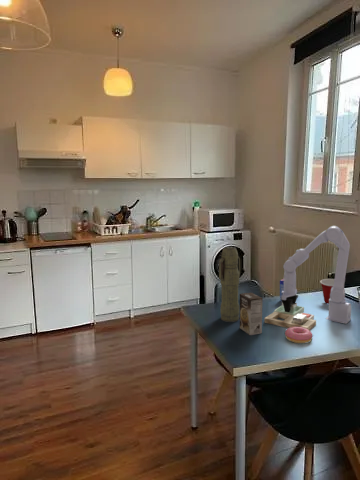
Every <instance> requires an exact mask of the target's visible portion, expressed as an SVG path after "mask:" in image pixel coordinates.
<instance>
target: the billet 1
mask: <svg viewBox="0 0 360 480" xmlns="http://www.w3.org/2000/svg"><path fill="white" fill-rule="evenodd" d="M281 306H282V312H285V310H284V306H283V303H282V302H281ZM297 306H298V303H297V302H295V303H294V302H292V303H291V307H290V312H286V313H291V314H294V313H295V312H297Z"/></svg>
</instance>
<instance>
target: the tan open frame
mask: <svg viewBox="0 0 360 480" xmlns="http://www.w3.org/2000/svg"><path fill="white" fill-rule="evenodd" d="M293 317H294V316H293V315H289V314H284V313H279V312H274V311H273V312H271V313H270V314H269V315H267V316H265V317H264V324H270V325H273V326H278V327H279V326H280V327H282V328H286V329H285V330H287V329H288V328H290V327H303V328H306V329H308V330H310V331H311V330H312V329H313V328H314V327H316V325H317V320H316V319H313V320H312V319H307V320H306V323H305V324H304V325H299V324H295V323H293ZM282 319H284V320H282Z"/></svg>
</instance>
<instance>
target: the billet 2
mask: <svg viewBox="0 0 360 480" xmlns="http://www.w3.org/2000/svg"><path fill="white" fill-rule="evenodd" d="M306 320H307V315H303V314H297V315H295V316H294V317H293V323H295V324H299V325H304V324H305V323H306Z"/></svg>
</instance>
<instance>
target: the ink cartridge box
mask: <svg viewBox="0 0 360 480" xmlns="http://www.w3.org/2000/svg"><path fill="white" fill-rule="evenodd" d="M282 291H284V278H283V279H280V280H279V301H280V302H282V301H281V297H282V295H283V293H281V292H282Z"/></svg>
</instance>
